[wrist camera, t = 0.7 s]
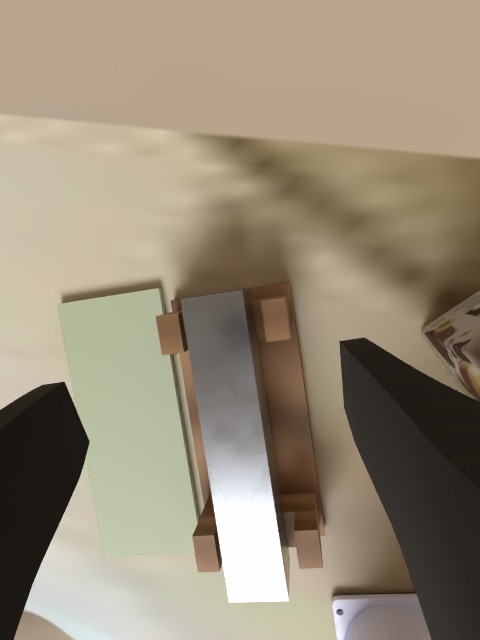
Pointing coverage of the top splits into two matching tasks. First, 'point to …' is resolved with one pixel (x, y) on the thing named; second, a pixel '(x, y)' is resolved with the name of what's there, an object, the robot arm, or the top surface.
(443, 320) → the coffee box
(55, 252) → the top surface
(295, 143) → the top surface
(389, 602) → the robot arm
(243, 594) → the rail
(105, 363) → the mat
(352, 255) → the top surface
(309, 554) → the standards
